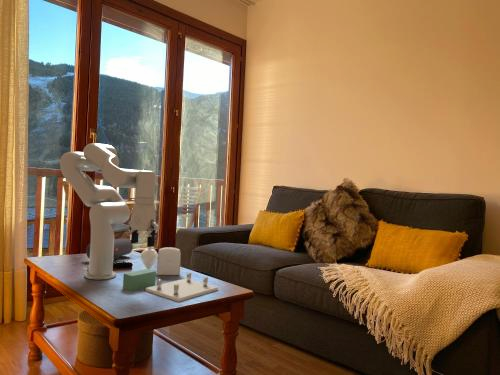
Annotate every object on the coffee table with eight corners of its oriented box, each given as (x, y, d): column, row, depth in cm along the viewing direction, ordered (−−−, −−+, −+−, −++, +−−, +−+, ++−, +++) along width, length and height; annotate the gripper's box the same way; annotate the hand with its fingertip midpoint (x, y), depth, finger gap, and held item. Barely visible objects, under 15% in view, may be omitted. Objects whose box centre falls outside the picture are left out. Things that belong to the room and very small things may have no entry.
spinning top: (137, 270, 186) (139, 244, 186) (153, 269, 190) (155, 243, 190) (142, 273, 180) (144, 247, 179) (159, 272, 184) (160, 246, 183)
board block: (122, 288, 156) (123, 273, 156) (147, 283, 166) (147, 268, 166) (130, 291, 153) (131, 276, 153) (155, 285, 163) (156, 271, 163)
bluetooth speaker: (97, 264, 193) (98, 243, 193) (84, 260, 198) (85, 240, 197) (133, 257, 212) (134, 238, 212) (120, 254, 217) (121, 236, 217)
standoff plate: (145, 290, 154) (146, 278, 154) (185, 281, 172) (186, 270, 172) (178, 301, 144) (179, 288, 144) (217, 290, 162) (218, 278, 162)
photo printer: (156, 275, 179) (158, 248, 178) (156, 273, 183) (158, 246, 182) (179, 276, 180) (181, 248, 180) (179, 273, 185) (181, 247, 184)
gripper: (122, 200, 161) (120, 242, 161) (151, 203, 151) (149, 248, 151) (137, 200, 167) (135, 241, 167) (166, 203, 157) (164, 246, 157)
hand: (142, 244), depth 159 cm, fingers open, 9 cm apart
